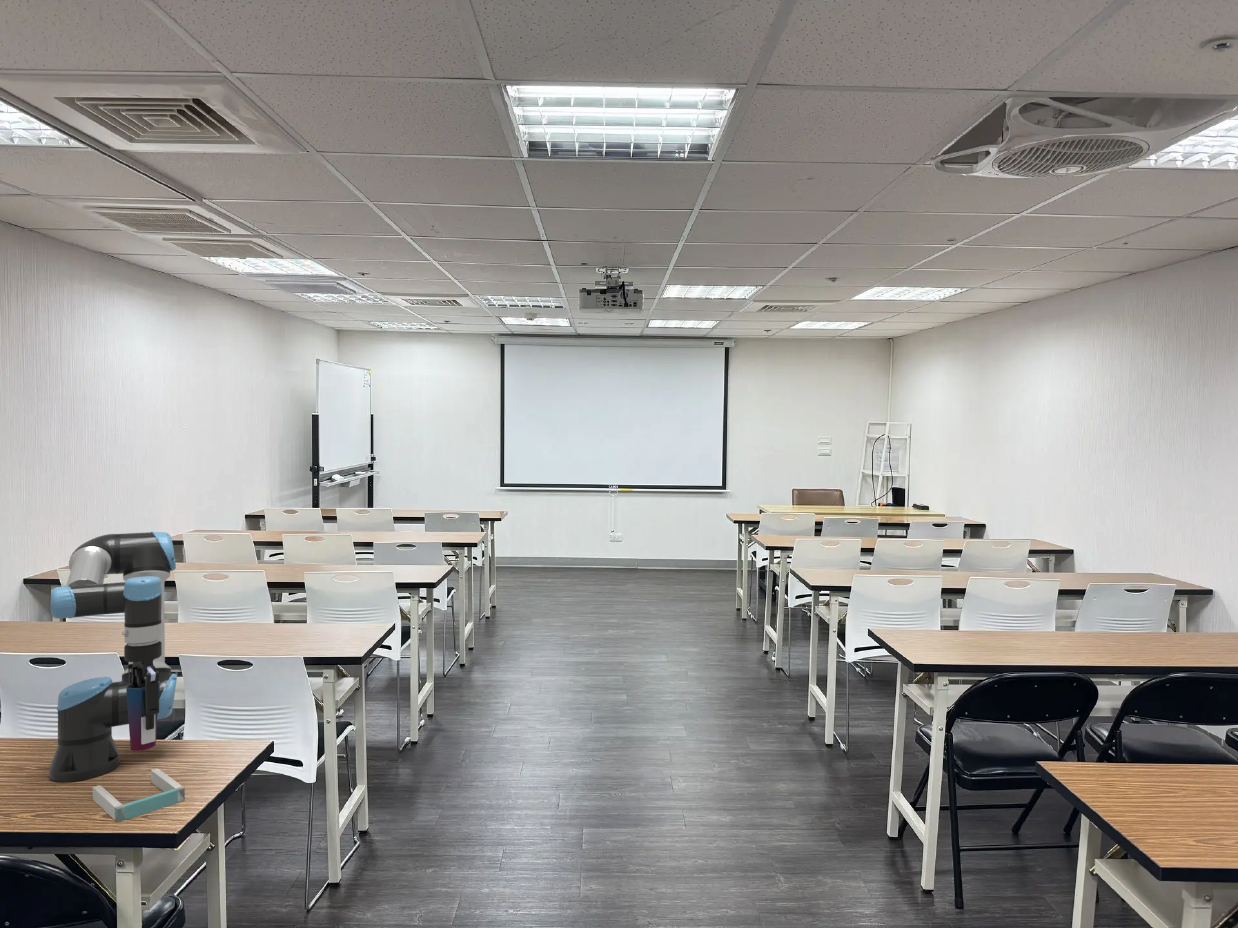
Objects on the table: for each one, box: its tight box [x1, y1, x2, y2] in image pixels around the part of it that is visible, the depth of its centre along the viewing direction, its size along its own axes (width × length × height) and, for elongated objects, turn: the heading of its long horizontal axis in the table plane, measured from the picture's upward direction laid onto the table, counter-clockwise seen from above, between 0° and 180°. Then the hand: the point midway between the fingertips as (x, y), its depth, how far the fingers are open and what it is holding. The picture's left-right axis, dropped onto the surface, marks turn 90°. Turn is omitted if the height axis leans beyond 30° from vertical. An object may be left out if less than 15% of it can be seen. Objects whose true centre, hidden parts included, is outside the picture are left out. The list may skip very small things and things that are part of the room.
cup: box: [126, 681, 160, 752], centre depth 174 cm, size 7×7×15 cm
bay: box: [92, 768, 186, 823], centre depth 176 cm, size 18×14×3 cm
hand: (143, 738), depth 174 cm, fingers closed on cup, 6 cm apart
